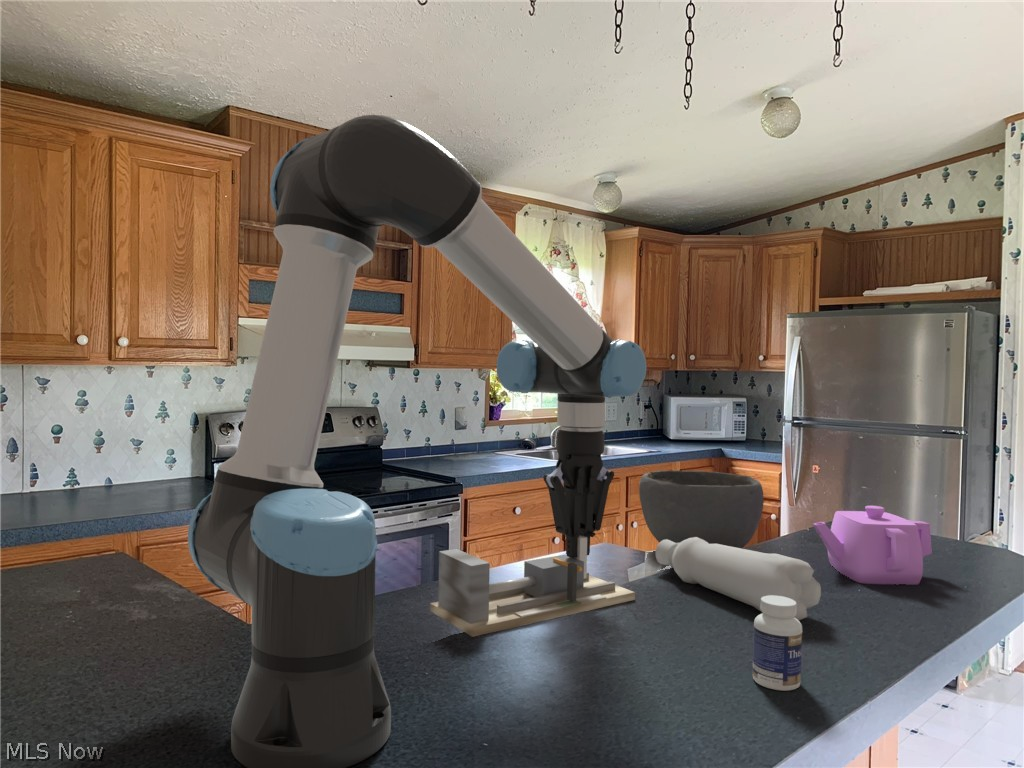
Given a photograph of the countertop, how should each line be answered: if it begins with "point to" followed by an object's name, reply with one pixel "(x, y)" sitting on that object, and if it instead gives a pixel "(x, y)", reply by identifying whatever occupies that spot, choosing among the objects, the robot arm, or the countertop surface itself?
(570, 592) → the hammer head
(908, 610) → the countertop surface
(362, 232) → the robot arm
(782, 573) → the bottle
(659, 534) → the bowl
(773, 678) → the pill bottle
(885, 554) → the teakettle
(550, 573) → the sliding vise jaw
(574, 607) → the bench vise
